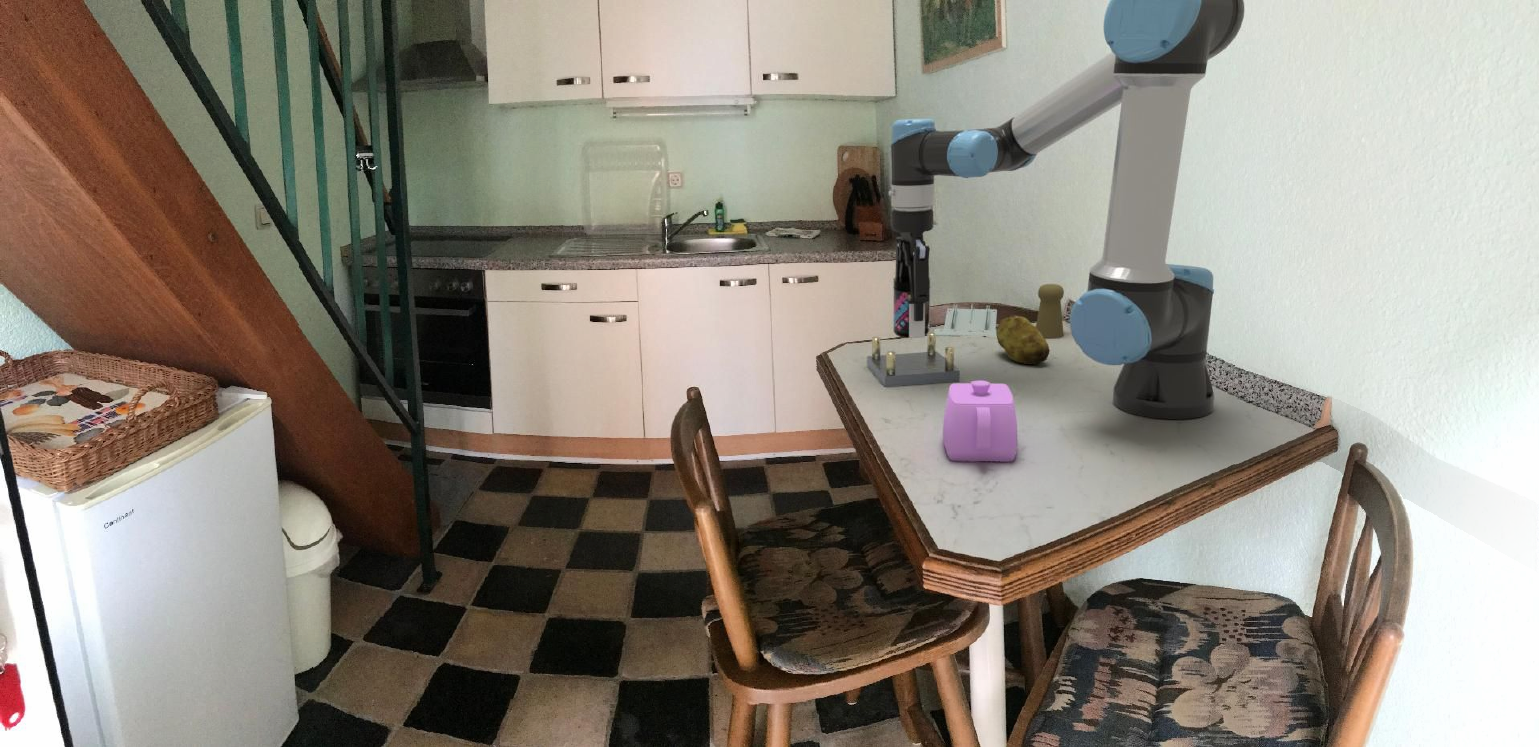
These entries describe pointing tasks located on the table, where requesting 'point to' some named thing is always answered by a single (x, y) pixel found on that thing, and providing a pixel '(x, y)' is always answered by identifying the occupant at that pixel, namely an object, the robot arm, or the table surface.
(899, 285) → the supplement container
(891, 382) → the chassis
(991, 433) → the teapot
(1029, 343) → the potato
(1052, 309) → the tan game pawn
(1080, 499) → the table surface
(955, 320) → the metal bracket
